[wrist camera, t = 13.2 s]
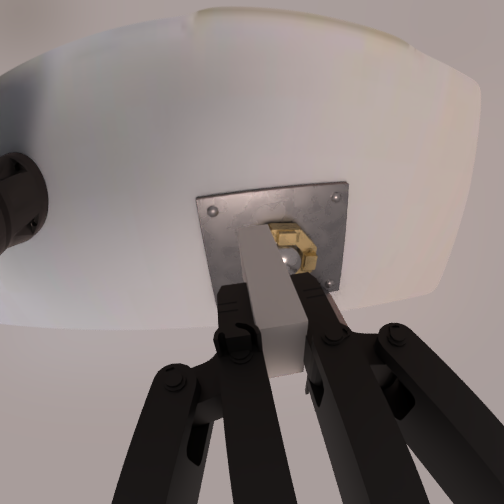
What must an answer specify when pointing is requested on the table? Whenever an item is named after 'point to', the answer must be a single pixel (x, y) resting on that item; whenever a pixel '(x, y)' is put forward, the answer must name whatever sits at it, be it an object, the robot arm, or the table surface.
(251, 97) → the table surface
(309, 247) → the grey and tan piece
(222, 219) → the flange
